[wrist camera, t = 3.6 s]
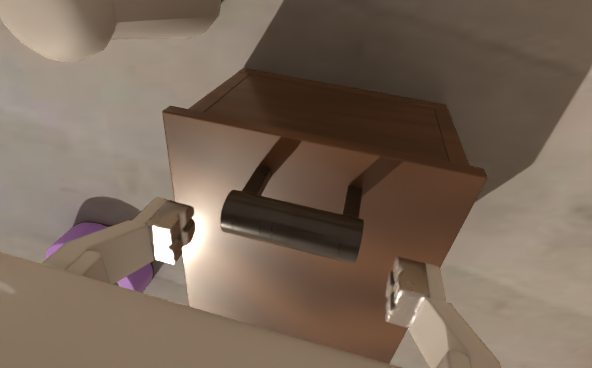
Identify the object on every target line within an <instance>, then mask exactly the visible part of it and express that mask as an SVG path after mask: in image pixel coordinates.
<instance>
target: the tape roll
mask: <svg viewBox="0 0 592 368" xmlns="http://www.w3.org/2000/svg"><path fill="white" fill-rule="evenodd" d="M105 228H108V227H107V226H104V225H101V224H97V223H80V224H77V225H75V226H74V227H73V228H72V229H70V230H69V231H68V232H67V233H66V234H64V235H63V236H62V237H61V238H60V239H59V240H57V241H56V242H55V243H54V244H53V245H52V246H51V247H50V248H49V249H48V250H47V252H46V259H47V258H48V257H49V256H51V255H52V254H53V253H54V252H55V251H57V250H58V249H59V248H60V247H61V246H62V245H64V244H65V243H66V242H69V241H71V240H74V239H77V238H80V237H83V236H85V235H88V234H91V233H94V232H97V231H99V230H102V229H105ZM152 278H153V269H152V265H151V263H149V264H147V265H146V266H144V267H142V268H140V269H139V270H137V271H135V272H133V273H132V274H130V275H128V276H127V277H125V278H123V279H121V280H120V281H118V282H116V283H114V284H113V285H117V286H120V287H124V288H127V289H130V290H134V291H137V292H141V293H143V291H144V290H145V288H146V287H147V286H148V284H149V283H150V282H151V280H152Z"/></svg>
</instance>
